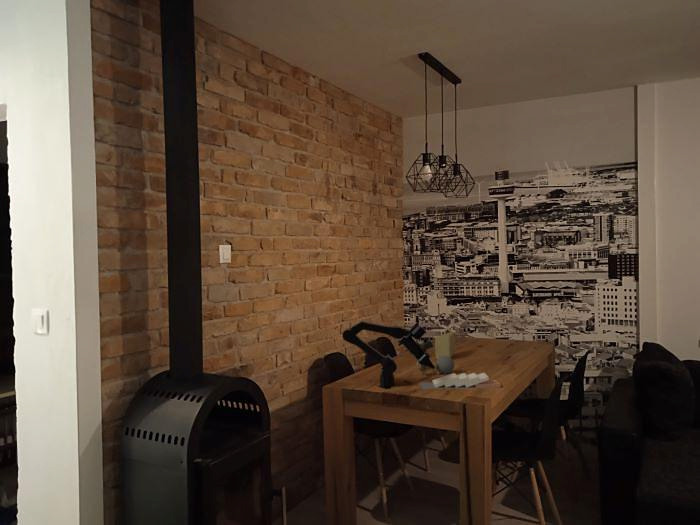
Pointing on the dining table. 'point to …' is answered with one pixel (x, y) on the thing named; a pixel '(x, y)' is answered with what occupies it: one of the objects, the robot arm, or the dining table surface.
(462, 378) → the tile
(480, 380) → the tile
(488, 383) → the tile
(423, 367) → the lion figurine
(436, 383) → the tile
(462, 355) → the dining table surface
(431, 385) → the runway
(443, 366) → the decorative ball
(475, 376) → the tile
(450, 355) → the cheese
